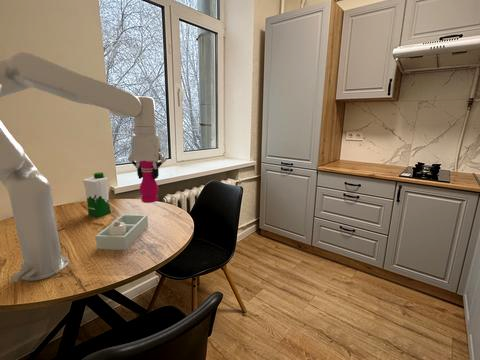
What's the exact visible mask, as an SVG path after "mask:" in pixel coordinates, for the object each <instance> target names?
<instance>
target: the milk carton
mask: <svg viewBox="0 0 480 360" xmlns="http://www.w3.org/2000/svg"><path fill="white" fill-rule="evenodd" d="M93 175H94V176H91V177H88V178H84V179H82V182H83V187H84V188H85V189H84V190H85V194H86V195H85V196H86V202H87V214H88V216H91V217H94V218H100V217H103V216H106V215H109V214H110V213H112V211H111V206H110V200H109V191H108V183H109V182H108V181H109V178H108V177H106V176H104V175H105V174H104V172H95V173H93Z"/></svg>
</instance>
